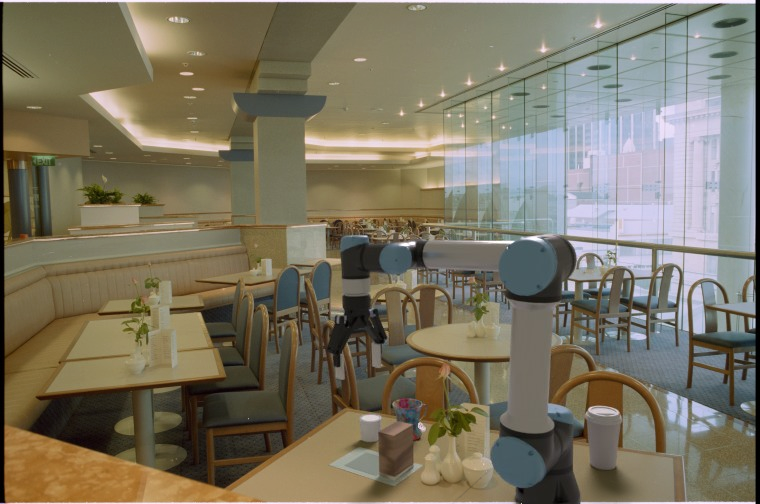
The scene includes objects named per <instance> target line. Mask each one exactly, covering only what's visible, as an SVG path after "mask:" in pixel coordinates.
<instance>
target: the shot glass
mask: <svg viewBox="0 0 760 504" xmlns="http://www.w3.org/2000/svg"><path fill="white" fill-rule="evenodd" d="M358 419H359V420H358V421H359V422H358V423H359V430H360V436H361V437H360V438H361V441H363V442H367V443H375V442H379V440H378V432H379V431H380V430H382V415H380V414H376V413H366V414H363V415H360V416H359V418H358Z"/></svg>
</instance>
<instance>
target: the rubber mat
mask: <svg viewBox="0 0 760 504" xmlns="http://www.w3.org/2000/svg"><path fill="white" fill-rule="evenodd" d="M328 466H330V467H333V468H337V469H340V470H342V471H347V472H349V473H352V474H356V475H358V476H360V477H361V476H362V477H364V478H367V479H370V480H372V481H373V480H374V481H377V482H379V483H383V484H385V485H388V486H392V487H395V486H397V485H398V484H400V483H401V482H402V481H404V480H405V479H406V478H408V477H409V476H411V475H412V474H413V473H415V472H416V471H418V470H419V469H421V468H422V467H423V466H424V465H423V464H420V463H416V462H414V468H412V469H411V470H409V471H408V472H407V473H405V474H404V475H402V476H401V477H400V478H398V479H397V480H395V481H394V480H391V479H388V478H385V477H382V476H379V451H375V450H372V449H368V448H365V447H362V446H361V447H360V446H359V447H357V448H355V449H353V450H352V451H350V452H348V453H347V454H344V455H343V456H341V457H339V458H337V459H336V460H334V461H333V462H331V463H329V464H328Z"/></svg>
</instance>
